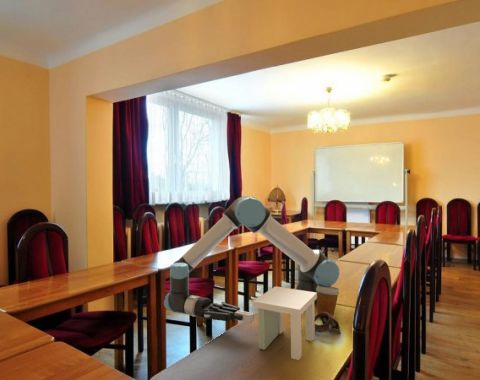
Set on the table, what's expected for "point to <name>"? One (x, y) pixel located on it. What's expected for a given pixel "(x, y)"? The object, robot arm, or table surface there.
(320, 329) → the brown curved piece
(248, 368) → the table surface
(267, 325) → the panel
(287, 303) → the stool
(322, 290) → the disposable coffee cup
